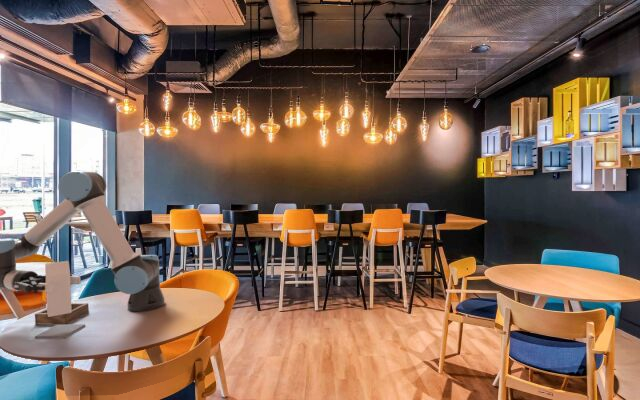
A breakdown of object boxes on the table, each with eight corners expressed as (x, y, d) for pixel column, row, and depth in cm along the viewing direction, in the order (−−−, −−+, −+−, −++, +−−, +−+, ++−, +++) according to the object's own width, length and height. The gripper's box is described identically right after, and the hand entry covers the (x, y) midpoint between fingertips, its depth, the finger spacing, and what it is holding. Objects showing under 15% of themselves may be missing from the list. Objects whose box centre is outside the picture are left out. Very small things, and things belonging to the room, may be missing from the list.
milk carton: (71, 313, 137) (69, 262, 136) (47, 317, 133) (45, 265, 132) (70, 308, 143) (68, 259, 142) (47, 312, 138) (44, 262, 138)
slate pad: (85, 326, 144) (84, 324, 144) (65, 338, 133) (64, 335, 133) (57, 326, 144) (57, 324, 144) (34, 338, 133) (34, 336, 133)
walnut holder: (88, 312, 160) (88, 303, 160) (67, 323, 147) (67, 313, 147) (59, 312, 160) (58, 303, 160) (35, 324, 147) (34, 314, 147)
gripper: (51, 282, 153) (93, 286, 147) (-11, 298, 132) (36, 303, 126) (50, 264, 153) (92, 267, 147) (-12, 278, 131) (35, 281, 125)
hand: (66, 284), depth 136 cm, fingers closed on milk carton, 10 cm apart
